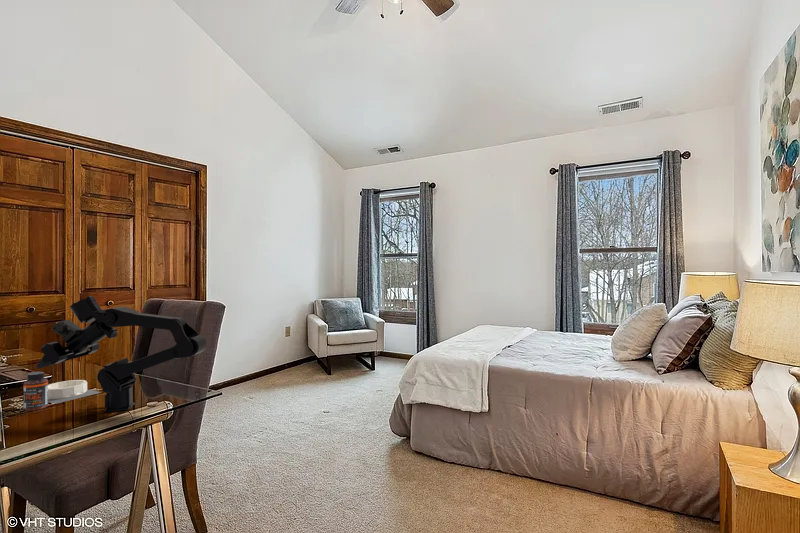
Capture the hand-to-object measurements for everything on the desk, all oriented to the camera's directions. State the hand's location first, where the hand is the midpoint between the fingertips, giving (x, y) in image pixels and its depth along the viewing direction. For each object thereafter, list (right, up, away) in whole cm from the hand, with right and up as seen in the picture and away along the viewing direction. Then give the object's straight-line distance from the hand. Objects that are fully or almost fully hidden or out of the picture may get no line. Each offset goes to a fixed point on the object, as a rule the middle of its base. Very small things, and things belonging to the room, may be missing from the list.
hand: (49, 363), depth 135 cm
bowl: (-7, -14, +16) cm, 23 cm away
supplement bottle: (-6, -15, +2) cm, 16 cm away
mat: (-7, -15, +16) cm, 23 cm away
